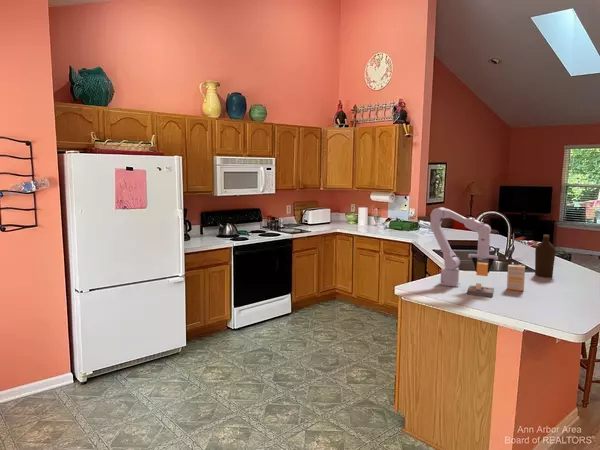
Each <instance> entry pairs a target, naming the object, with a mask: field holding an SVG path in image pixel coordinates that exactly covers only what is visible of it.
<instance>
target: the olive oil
mask: <svg viewBox="0 0 600 450" xmlns="http://www.w3.org/2000/svg"><path fill="white" fill-rule="evenodd" d="M534 258H535V259H534V260H535V261H534V264H535V265H534V275H535V276H537V277H541V278H552V277H553V275H554V267H555V259H556V248H555V246H554V244H553V243H551V242H550V234H543V237H542V241H541V242H540V243H539V244H538V245H537V246H536V248H535V257H534Z"/></svg>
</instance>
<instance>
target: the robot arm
mask: <svg viewBox="0 0 600 450" xmlns="http://www.w3.org/2000/svg"><path fill="white" fill-rule="evenodd" d="M429 216H430V223H429V227H430V229H431V230H432V233H433V235H434V238H435V239H436V241H437V244H438V245H439V248H440V250H441V253H442V255H443V256H442V257H443V261H444V265H443V266H444V268H443V267H442V268H441V270H440V284H439V285H440V286H448V287H456V288H457V287H459V286H460V284H461V283H460V281H459V279H460V277H459V275H460V273H459V272H460V267H459V266H460V265H461V259H460V257H458V255H456V253H455V251H453V250H452V248H451V246H450V245H451V244H450V243H449V241H448V238H447V236H446V234H445V232H444V230H443V228H442V226H441V225H442V223H443V220H445V219H451V220H455V221H457V222H459V223H461V224H463V225H464V228H466V229H469V230H471V231H472V232H475V233H477V234H478V239H477V253H468V259H471V261H472V263H473V266H474V270H475V273H477V263H478V259H483V260H488V262H487V263H488V274H490V270H491V267H492V265H493V263H494V261H498V260H499V256H498V255H491V254H490V244H491V239H490V238H491V236H490V235H491V234H490V233H491V232H492V227H491V225H489V224H488V223H484V221H478V220H477V219H476V218H475V217H468V218H467V217H465V216H463V215H461V214H459V213H457V212H455V211H453V210H451V209H449V208H446V207H443V206H440V207H437V208H434V209H432V211H431V213H430V215H429Z"/></svg>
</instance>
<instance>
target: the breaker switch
mask: <svg viewBox="0 0 600 450" xmlns="http://www.w3.org/2000/svg"><path fill="white" fill-rule="evenodd" d="M475 286H476V289H479V290H481V286H482V283H478V282H476V284H475Z"/></svg>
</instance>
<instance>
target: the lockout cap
mask: <svg viewBox="0 0 600 450" xmlns="http://www.w3.org/2000/svg"><path fill="white" fill-rule="evenodd" d="M475 273H476V276H480V277H482V276H483V277H488V275H489V273H488V262H479V261H477V272H475Z"/></svg>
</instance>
